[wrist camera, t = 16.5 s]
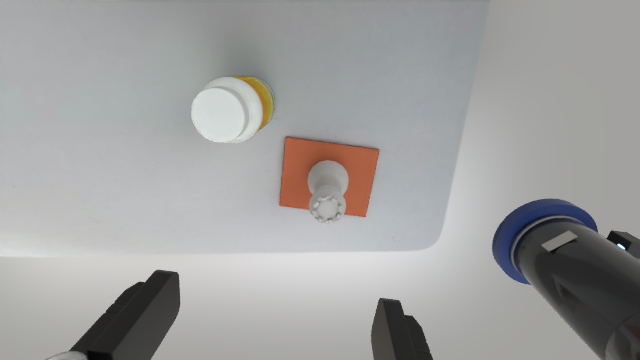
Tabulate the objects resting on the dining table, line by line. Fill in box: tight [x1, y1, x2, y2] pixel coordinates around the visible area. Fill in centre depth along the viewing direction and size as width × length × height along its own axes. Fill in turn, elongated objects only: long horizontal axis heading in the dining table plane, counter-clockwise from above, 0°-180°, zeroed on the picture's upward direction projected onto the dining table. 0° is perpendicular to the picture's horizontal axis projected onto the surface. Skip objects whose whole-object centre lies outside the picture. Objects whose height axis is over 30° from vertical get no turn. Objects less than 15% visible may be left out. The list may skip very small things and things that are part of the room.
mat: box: [280, 137, 379, 217], centre depth 33 cm, size 10×8×1 cm
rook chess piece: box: [308, 160, 349, 224], centre depth 29 cm, size 4×4×8 cm
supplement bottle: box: [191, 76, 275, 143], centre depth 26 cm, size 5×5×10 cm
